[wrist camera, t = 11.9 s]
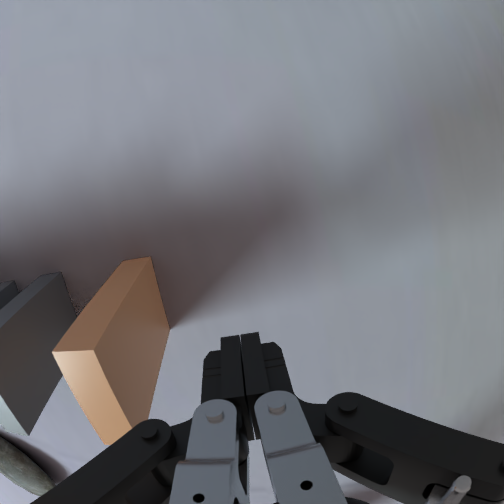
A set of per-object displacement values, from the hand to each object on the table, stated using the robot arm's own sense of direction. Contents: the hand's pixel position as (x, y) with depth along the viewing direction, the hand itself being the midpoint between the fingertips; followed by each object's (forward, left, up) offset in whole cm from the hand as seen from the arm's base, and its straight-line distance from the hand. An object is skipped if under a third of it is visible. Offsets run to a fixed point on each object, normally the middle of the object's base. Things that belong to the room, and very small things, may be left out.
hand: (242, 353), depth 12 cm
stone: (+6, +37, -8) cm, 39 cm away
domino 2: (+4, +4, -7) cm, 9 cm away
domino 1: (+8, +9, -7) cm, 14 cm away
